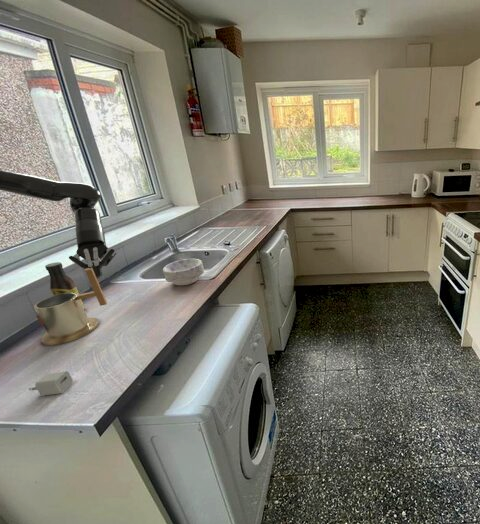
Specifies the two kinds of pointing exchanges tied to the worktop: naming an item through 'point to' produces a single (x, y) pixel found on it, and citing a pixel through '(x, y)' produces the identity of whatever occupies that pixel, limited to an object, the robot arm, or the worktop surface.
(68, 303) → the flanged cylinder with handle
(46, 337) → the turntable
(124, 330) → the worktop surface
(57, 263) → the sauce bottle
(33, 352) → the worktop surface
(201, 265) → the white purple floral bowl
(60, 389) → the usb wall charger
